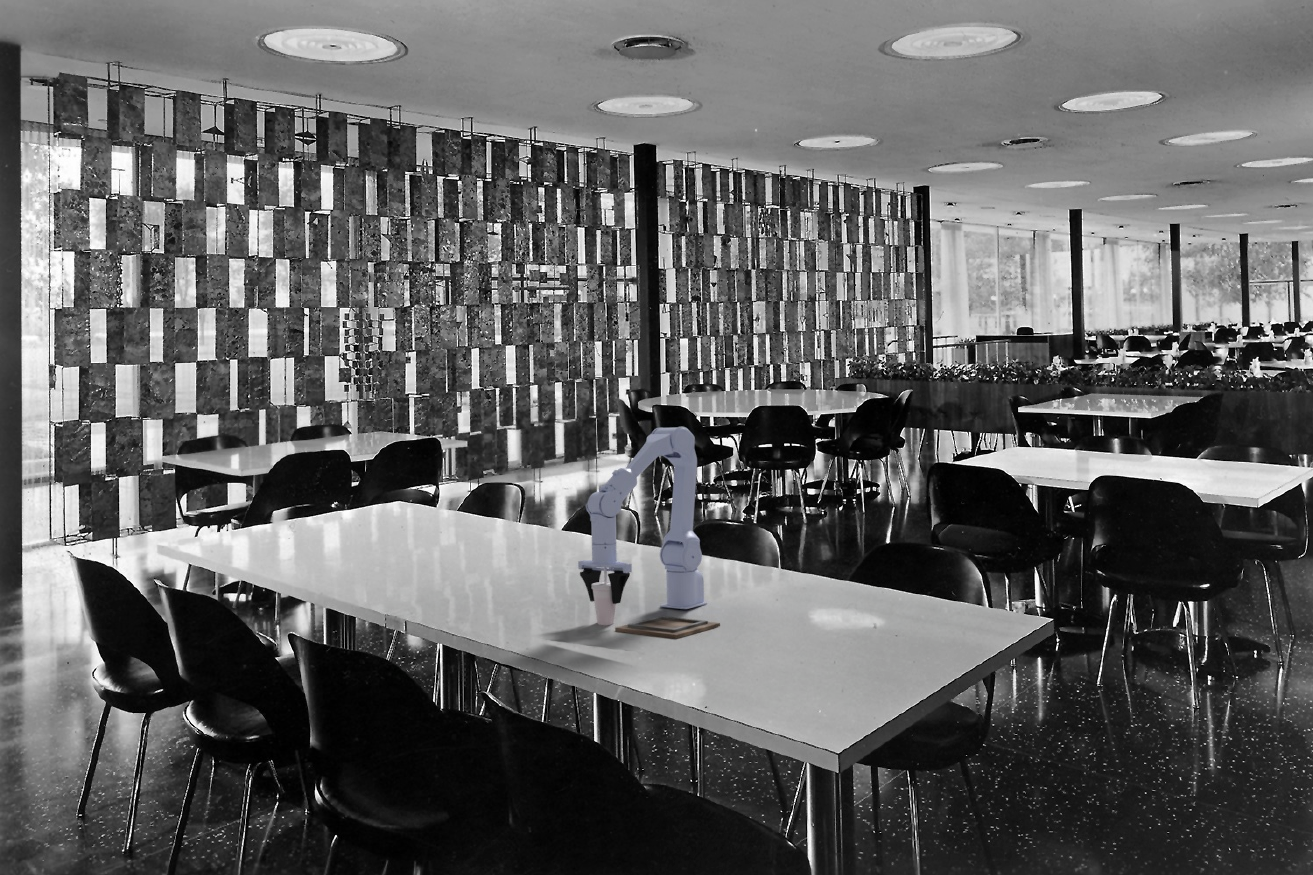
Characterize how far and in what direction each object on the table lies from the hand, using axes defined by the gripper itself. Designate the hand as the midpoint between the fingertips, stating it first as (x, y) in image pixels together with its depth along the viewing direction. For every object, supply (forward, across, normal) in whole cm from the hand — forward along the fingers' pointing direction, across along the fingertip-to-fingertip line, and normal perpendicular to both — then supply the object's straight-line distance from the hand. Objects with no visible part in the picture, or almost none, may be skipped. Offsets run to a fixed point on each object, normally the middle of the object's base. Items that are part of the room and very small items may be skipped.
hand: (605, 602), depth 244 cm
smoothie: (+6, 0, 0) cm, 6 cm away
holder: (+5, +15, +4) cm, 16 cm away
